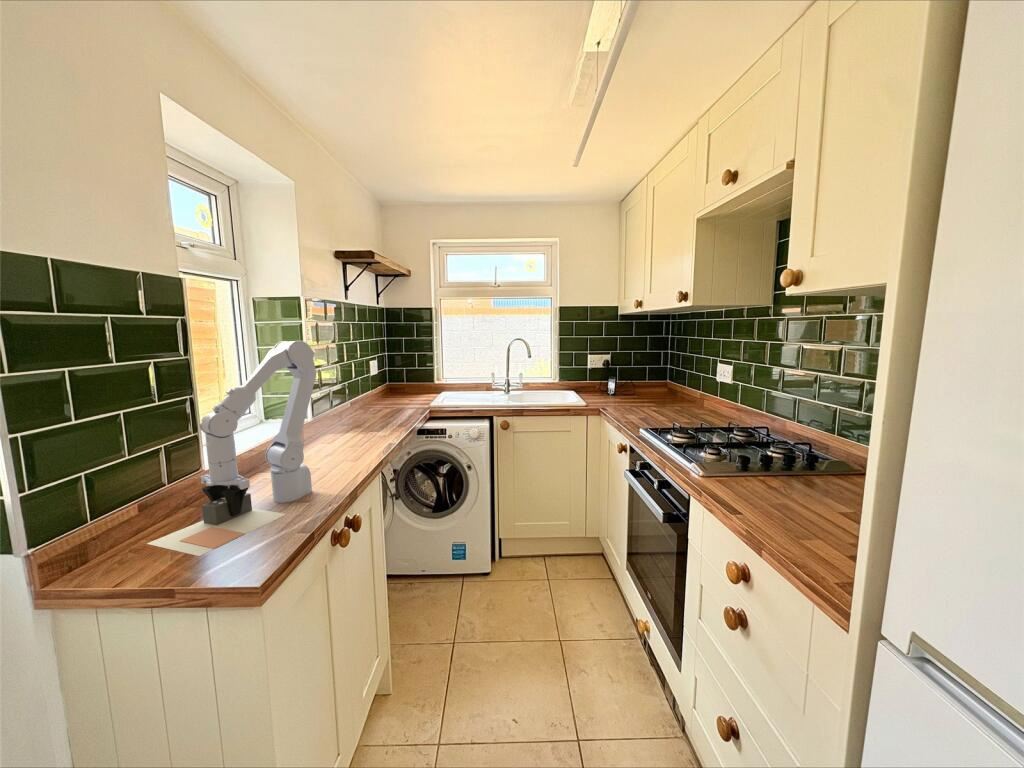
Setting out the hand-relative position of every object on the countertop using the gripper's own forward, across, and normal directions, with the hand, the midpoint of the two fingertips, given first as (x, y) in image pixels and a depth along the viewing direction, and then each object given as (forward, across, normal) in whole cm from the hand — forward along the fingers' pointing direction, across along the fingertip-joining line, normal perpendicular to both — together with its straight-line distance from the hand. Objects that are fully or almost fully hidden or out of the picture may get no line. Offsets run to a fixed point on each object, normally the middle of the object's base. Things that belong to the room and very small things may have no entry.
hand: (228, 513), depth 104 cm
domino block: (+1, 0, 0) cm, 1 cm away
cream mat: (+1, +4, -5) cm, 7 cm away
